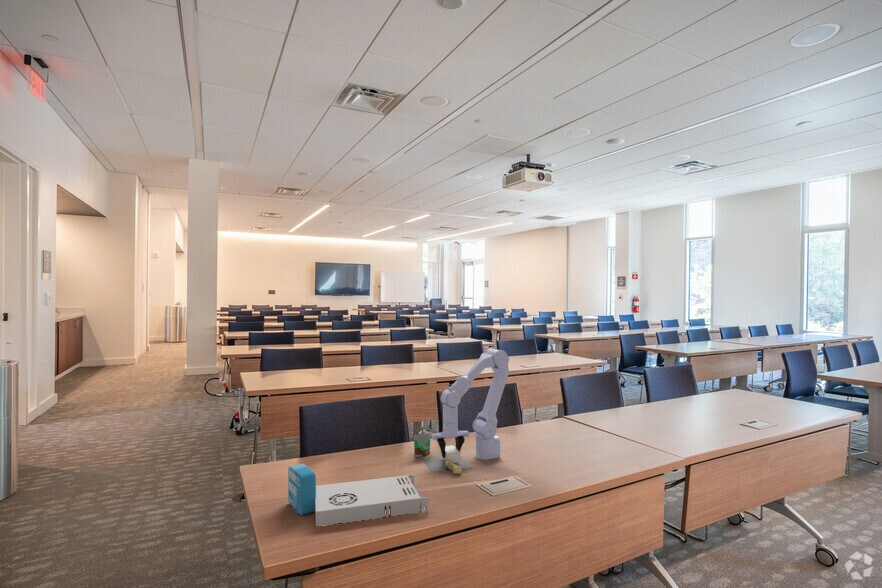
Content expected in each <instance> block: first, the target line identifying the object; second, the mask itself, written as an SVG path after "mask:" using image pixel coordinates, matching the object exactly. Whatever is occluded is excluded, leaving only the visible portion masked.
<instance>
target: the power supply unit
mask: <svg viewBox="0 0 882 588" xmlns="http://www.w3.org/2000/svg"><path fill="white" fill-rule="evenodd" d="M389 509H390V516H389ZM385 510H386V518H389V517H391V516H394V517H398V516H397V515H401V516H406V515H405V514H408V515H414V513H415V514H420V513H428V512H429V497H428V496H421V494H420V492H419V490H418V489H417V487H416V485H415V475H414V474H408V475H407V474H405V475H398V476H389V477H380V478H379V477H378V478H372V479H370V478H369V479H365V480H364V479H363V480H355V481H354V480H353V481H346V482H344V481H343V482H337V483H329V484H328V483H327V484H320V485H316V499H315V511H314V515H315V527H316V526H322V525H330V524H337V523H344V524H346V523H345V522H351V523H354V522H353V521H358V522H362V521H361V520H365V521H370V520H369V519H372V520H377V519H376V518H379V519H383V518H382V517H385ZM420 511H421V512H420ZM419 512H420V513H419ZM337 525H338V524H337ZM330 526H331V525H330Z"/></svg>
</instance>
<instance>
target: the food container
mask: <svg viewBox="0 0 882 588" xmlns="http://www.w3.org/2000/svg"><path fill="white" fill-rule="evenodd" d="M432 434H433V432H432V429H430V428H429V427H424V426H420V430H418V431H417V432H416V433H415V434H413V442H414V443H413V444H414V445H413V446H414V447H413V449H414V457H416V458H417V457H426V456H428V455H430V453H431V440H432Z"/></svg>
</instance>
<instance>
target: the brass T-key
mask: <svg viewBox="0 0 882 588" xmlns="http://www.w3.org/2000/svg"><path fill="white" fill-rule="evenodd" d="M445 468H446V469H450V470H449V471H452V473H453V474H458V473H462V472H463V471H462V469H463V468H462V466H460V465H459V466H457V465H456V464H454V463H452V462H451V460H450V459H446V460H445Z"/></svg>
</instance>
